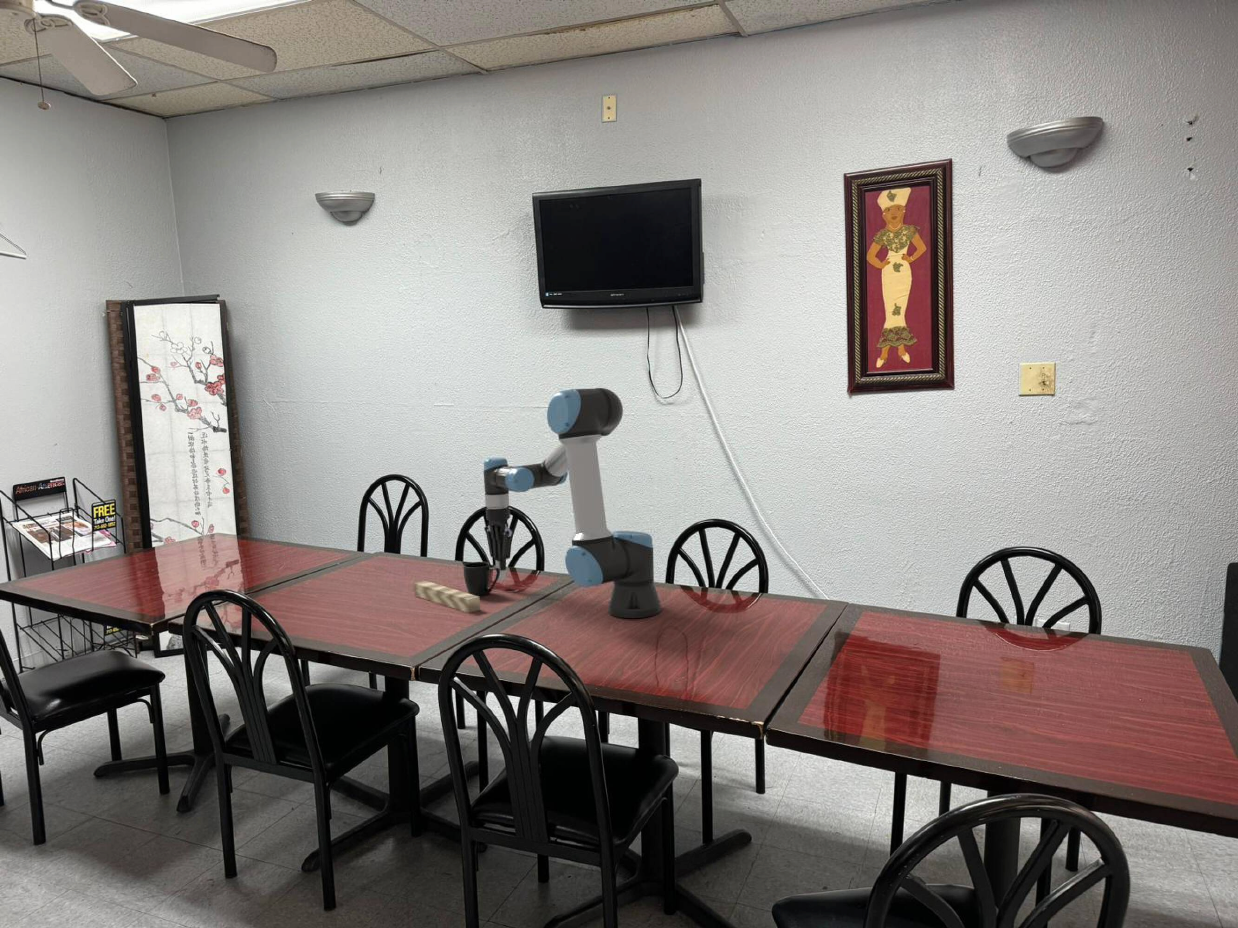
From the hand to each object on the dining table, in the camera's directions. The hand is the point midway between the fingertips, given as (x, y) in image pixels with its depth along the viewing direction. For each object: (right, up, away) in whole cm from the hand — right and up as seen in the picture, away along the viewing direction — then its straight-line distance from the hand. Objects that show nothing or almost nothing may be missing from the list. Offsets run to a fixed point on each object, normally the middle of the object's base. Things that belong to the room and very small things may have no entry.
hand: (501, 579), depth 282 cm
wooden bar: (-15, -5, -14) cm, 21 cm away
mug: (-5, -4, -6) cm, 9 cm away
